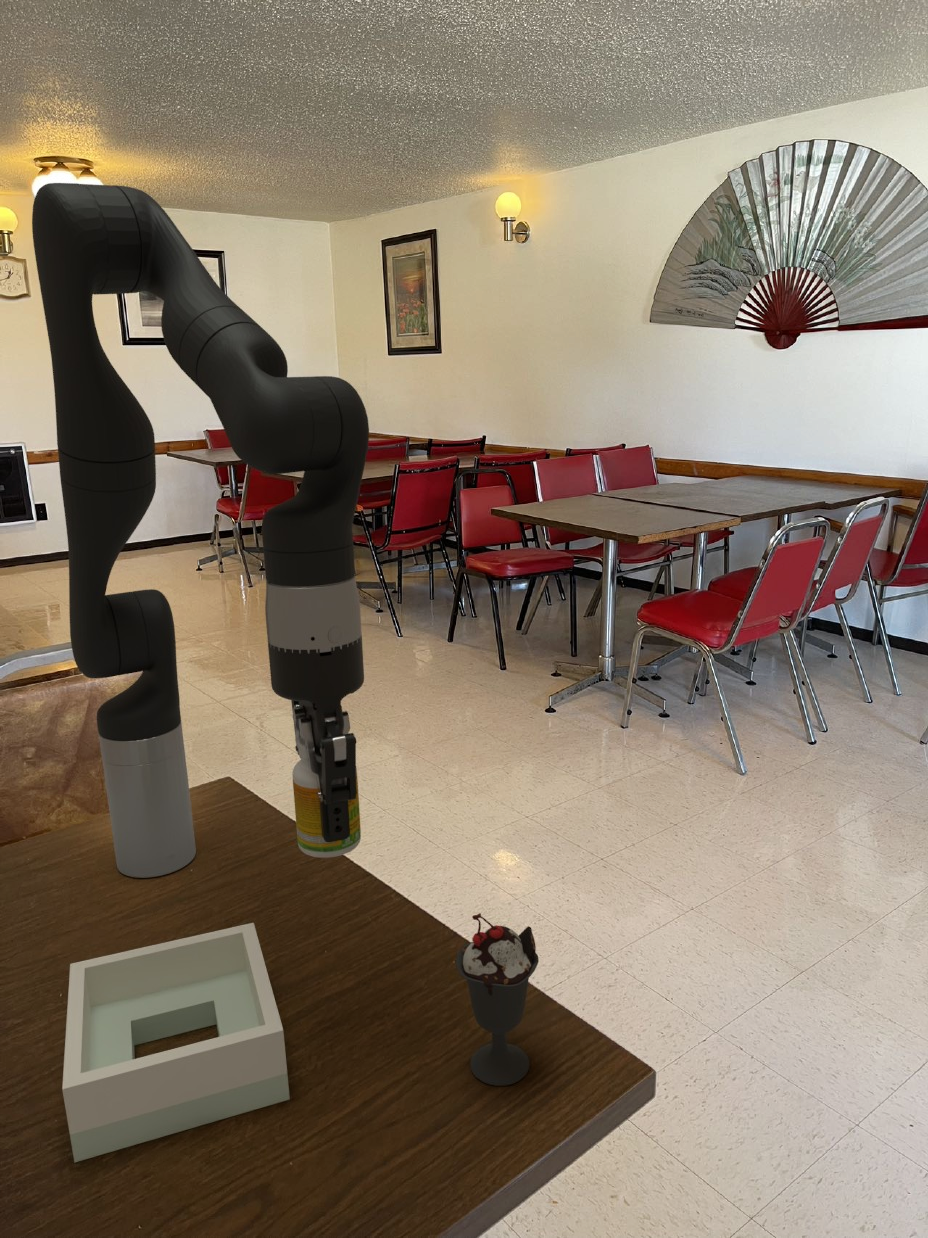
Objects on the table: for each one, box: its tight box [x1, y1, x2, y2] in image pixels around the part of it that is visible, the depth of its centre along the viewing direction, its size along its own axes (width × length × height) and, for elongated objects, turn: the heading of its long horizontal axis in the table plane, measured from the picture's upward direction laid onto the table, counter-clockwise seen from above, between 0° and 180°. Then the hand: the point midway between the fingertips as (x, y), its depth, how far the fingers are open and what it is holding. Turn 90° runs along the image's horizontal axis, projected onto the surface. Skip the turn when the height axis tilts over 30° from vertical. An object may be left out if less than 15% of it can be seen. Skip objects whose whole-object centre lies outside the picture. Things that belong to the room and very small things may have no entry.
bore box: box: [61, 922, 291, 1163], centre depth 77 cm, size 16×16×6 cm
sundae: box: [456, 913, 540, 1087], centre depth 74 cm, size 7×7×15 cm
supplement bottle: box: [292, 737, 362, 859], centre depth 77 cm, size 5×5×10 cm
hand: (328, 822), depth 78 cm, fingers closed on supplement bottle, 5 cm apart
